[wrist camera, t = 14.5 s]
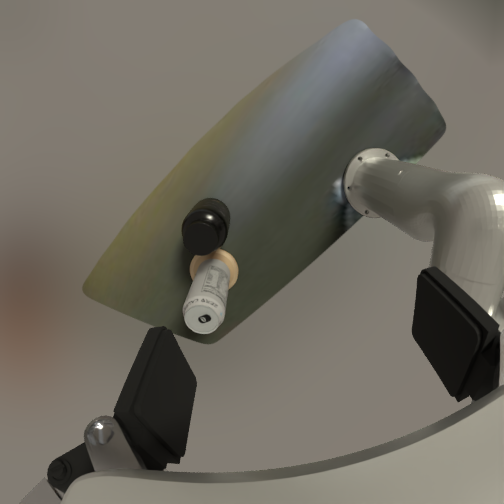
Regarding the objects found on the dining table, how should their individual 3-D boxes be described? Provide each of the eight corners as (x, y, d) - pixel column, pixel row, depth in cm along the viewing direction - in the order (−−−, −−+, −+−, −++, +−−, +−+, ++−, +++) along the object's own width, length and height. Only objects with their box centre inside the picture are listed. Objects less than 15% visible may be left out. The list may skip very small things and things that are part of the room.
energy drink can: (192, 265, 50) (171, 311, 36) (220, 251, 49) (208, 295, 35) (208, 290, 52) (195, 342, 38) (236, 277, 51) (231, 328, 37)
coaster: (231, 242, 49) (231, 244, 48) (243, 286, 52) (243, 287, 52) (184, 253, 50) (183, 254, 49) (198, 294, 53) (198, 296, 52)
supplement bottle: (221, 241, 49) (213, 271, 38) (186, 225, 48) (167, 251, 37) (237, 206, 46) (233, 228, 35) (201, 190, 45) (185, 206, 34)
